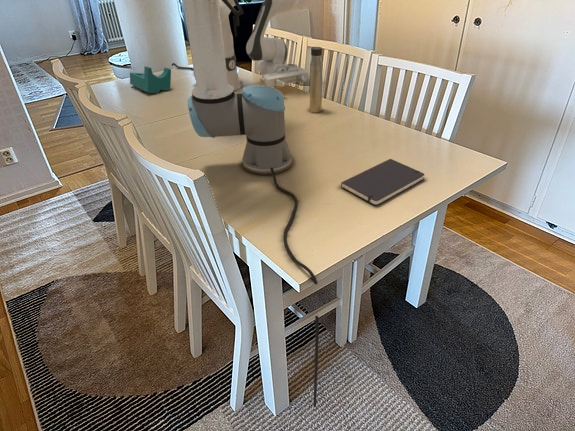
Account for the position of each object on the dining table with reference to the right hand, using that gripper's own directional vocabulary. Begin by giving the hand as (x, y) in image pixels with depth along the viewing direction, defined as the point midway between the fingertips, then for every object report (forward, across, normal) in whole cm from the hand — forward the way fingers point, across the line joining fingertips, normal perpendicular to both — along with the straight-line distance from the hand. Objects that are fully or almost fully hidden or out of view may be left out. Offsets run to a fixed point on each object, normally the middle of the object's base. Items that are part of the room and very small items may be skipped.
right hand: (217, 37), depth 147 cm
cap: (+4, -35, +8) cm, 36 cm away
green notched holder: (+28, +33, -36) cm, 56 cm away
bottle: (+28, -35, +8) cm, 46 cm away
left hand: (+22, -30, -10) cm, 38 cm away
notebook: (+28, -42, +66) cm, 84 cm away
